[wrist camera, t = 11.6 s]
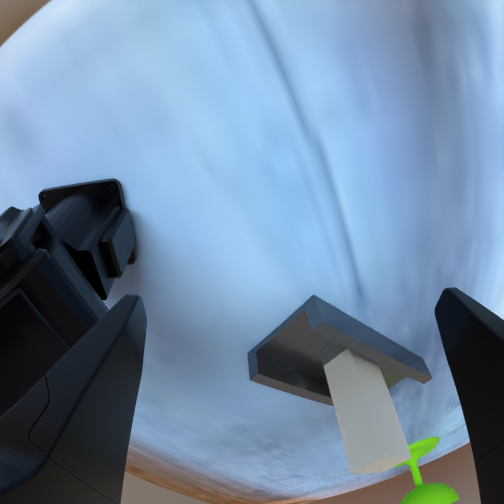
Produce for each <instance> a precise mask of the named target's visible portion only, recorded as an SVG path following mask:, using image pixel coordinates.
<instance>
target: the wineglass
mask: <svg viewBox="0 0 504 504" xmlns="http://www.w3.org/2000/svg"><path fill="white" fill-rule="evenodd" d="M438 442H439V438H438V437H432V438H428V439H425V440H421V441H418V442H416V443H413V444H411V445H408V447H409V450H410V453H411V457H412V458H410V459H408V460H406V461H404V462H402V463H400V464H399V465H397V466H394V467H398V466H401V465H404V464H406V465H408V466H409V467H410V470H411V473H412V476H413V479H414V483H415V486H416V489H414V490H412V491H411V492H410V493H408V494H407V495H406V496H405V497H404V498H403V499H402V501H401V502H400V503H399V504H451V503H453V502H455V501H457V500H459V499H460V498H459V496H458V494H457V493H456V491H454V490H453V489H452V488H451V487H449V486H447V485H445V484H440V483H431V484H425V485H423V482H422V478H421V475H420V472H419V469H418V466H417V461H418V459H419V458H420V457H422V456H424V455H426V454H427V453H429V452H430V451H432V450H433V449H434V448H435V447H436V446H437V444H438ZM394 467H392V468H394Z"/></svg>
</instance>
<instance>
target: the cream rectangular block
mask: <svg viewBox="0 0 504 504" xmlns="http://www.w3.org/2000/svg"><path fill="white" fill-rule="evenodd" d="M324 370H325V374H326V378H327V381H328V385H329V389H330V393H331V397H332V401H333V405H334V409H335V412H336V416H337V420H338V424H339V429H340V433H341V437H342V441H343V445H344V449H345V453H346V457H347V462H348V466H349V470H350V473H382V472H384V471H386V470H388V469H390V468H392V467H394V466H397V465H399V464H400V463H402V462H404V461H406V460H408V459H410V458H412V457H411V453H410V450H409V447H408V444H407V441H406V438H405V436H404V433H403V430H402V427H401V424H400V421H399V418H398V416H397V413H396V410H395V407H394V404H393V402H392V399H391V396H390V394H389V391H388V388H387V386H386V383H385V380H384V378H383V375H382V373H381V370H380V368H379V365H378V363H377V362H375V361H373V360H370V359H368V358H366V357H364V356H362V355H360V354H358V353H355V352H353V351H351V350H349V349H346V350H344V351H343V352H342V353H340V354H339V355H338V356H336V357H335V358H334V359H333V360H331V361H330V362H329V363H327V364H326V365H324Z"/></svg>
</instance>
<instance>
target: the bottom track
mask: <svg viewBox="0 0 504 504" xmlns="http://www.w3.org/2000/svg"><path fill="white" fill-rule="evenodd" d="M346 349H349V350H351V351H353V352H355V353H358V354H360V355H362V356H364V357H366V358H368V359H370V360H373V361H375V362H377V363H378V365H379V368H380V370H381V373H382V375H383V378H384V380H385V383H386V386H387V388H388V389H389V388H390V387H392V386H393V385H395V384H396V383H398V382H399V381H400V380H402V379H403V378H405V377H406V376H408V377H410V378H412V379H415V380H417V381H419V382H421V383H424V384H425V383H426V382H428V381H429V380H431V379H432V376H431V374H430V372H429V370H428V368H427V366H426V364H425V362H424V360H423V358H421V357H419V356H418V355H416V354H414V353H412V352H411V351H409V350H407V349H405V348H404V347H402V346H400V345H399V344H397V343H395V342H393V341H392V340H390V339H388V338H387V337H385V336H383V335H381V334H380V333H378V332H376V331H375V330H373V329H371V328H369V327H368V326H366V325H364V324H363V323H361V322H359V321H358V320H356V319H354V318H352V317H351V316H349V315H347V314H346V313H344V312H342V311H340V310H339V309H337V308H335V307H334V306H332V305H330V304H329V303H327V302H325V301H323V300H322V299H320V298H318V297H317V296H315V295H313V296H312V297H311V298H310V299H308V300H307V301H306V302H305V303H304V304H303V305H302V306H301V307H300V308H299V309H298V310H296V311H295V312H294V313H293V314H292V315H291V316H290V317H289V318H288V319H286V320H285V321H284V322H283V323H282V324H281V325H280V326H279V327H277V328H276V329H275V330H274V331H273V332H272V333H271V334H270V335H268V336H267V337H266V338H265V339H264V340H263V341H261V342H260V343H259V344H258V345H257V346H256V347H255V348H253V349H252V350H251V351H250V352H249V353H248V363H249V375H250V380H251V381H254V382H257V383H260V384H263V385H266V386H269V387H272V388H275V389H278V390H281V391H284V392H287V393H291V394H294V395H297V396H300V397H304V398H307V399H310V400H314V401H317V402H321V403H324V404H328V405H332V406H334V405H333V401H332V397H331V393H330V389H329V385H328V381H327V378H326V374H325V370H324V365H326V364H327V363H329V362H330V361H331V360H333V359H334V358H335V357H336V356H338V355H339V354H340V353H342V352H343V351H344V350H346Z"/></svg>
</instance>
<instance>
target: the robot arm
mask: <svg viewBox="0 0 504 504" xmlns="http://www.w3.org/2000/svg"><path fill="white" fill-rule="evenodd" d="M110 184H112V185H114V186H115V189H112V188H111V187H110ZM44 195H45V196H46V197H47V199H46V198H45V197H44ZM38 197H39V201H40V204H39V205H37V206H35V207H34V208H29V209H27V210H25V211H24V210H19V209H17V208H15V207H12V206H11V207H10V208H8V209H7V210H5V211H4V212H3V213H2V214H1V215H0V504H120V502H121V495H122V487H123V479H124V472H125V465H126V458H127V452H128V445H129V439H130V433H131V428H132V422H133V416H134V411H135V406H136V400H137V395H138V390H139V385H140V380H141V375H142V367H143V356H144V346H145V336H146V327H147V317H146V313H145V309H144V305H143V301H142V298H141V296H139V295H125V296H124V297H123V298H122V299H121V300H120V301H119V302H118V303H117V304H115V305H114V306H113V307H112V308H111V309H110V310H109V309H108V308H107V306H106V305H105V304H104V302H103V301H102V300H106V299H107V297H108V295H109V292H110V289H111V287H112V284H113V282H114V279H115V278H120V277H121V276H122V274H123V272H124V270H125V267H126V265H129V264H133V263H134V262H135V260H136V258H137V256H136V251H135V248H134V245H135V243H136V238H135V234H134V230H133V225H132V221H131V216H130V212H129V210H128V209H127V208H126V207H125V205H124V200H123V195H122V190H121V185H120V183H119V181H118V180H116V179H105V180H98V181H91V182H85V183H78V184H72V185H66V186H60V187H54V188H48V189H44V190H42V191H41V192H40V193H39V196H38ZM129 257H132V258H129ZM435 317H436V321H437V324H438V328H439V332H440V335H441V339H442V343H443V347H444V351H445V355H446V358H447V361H448V364H449V367H450V370H451V373H452V377H453V380H454V383H455V386H456V390H457V393H458V396H459V400H460V403H461V407H462V411H463V415H464V418H465V422H466V426H467V430H468V434H469V439H470V443H471V448H472V452H473V457H474V462H475V469H476V474H477V480H478V486H479V492H480V500H481V504H504V320H503V319H501V318H500V317H499V316H497V315H496V314H494V313H493V312H491V311H490V310H489V309H487V308H486V307H484V306H483V305H481V304H480V303H478V302H477V301H475V300H474V299H472V298H471V297H469V296H468V295H466V294H465V293H463V292H462V291H460V290H459V289H457V288H455V287H452V288H445V289H444V290H443V292H442V294H441V296H440V298H439V300H438V302H437V304H436V306H435Z"/></svg>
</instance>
